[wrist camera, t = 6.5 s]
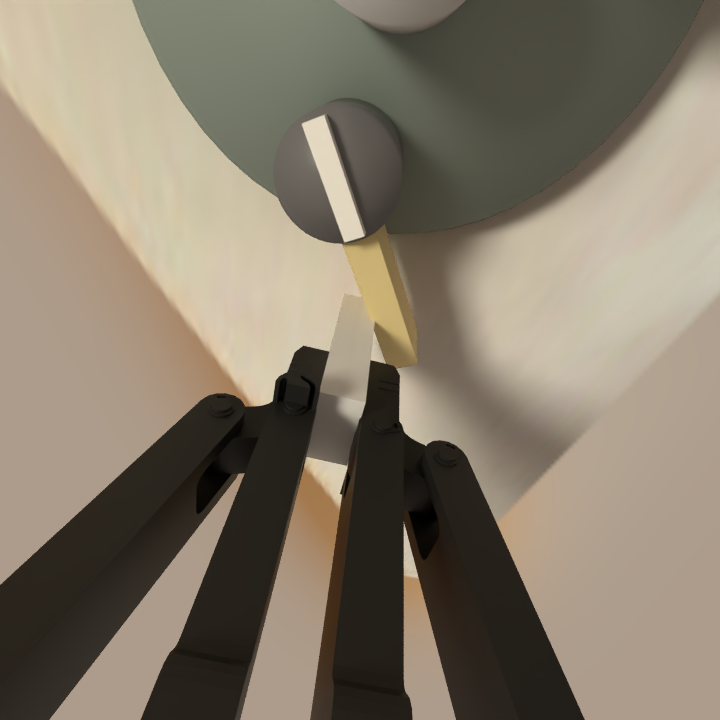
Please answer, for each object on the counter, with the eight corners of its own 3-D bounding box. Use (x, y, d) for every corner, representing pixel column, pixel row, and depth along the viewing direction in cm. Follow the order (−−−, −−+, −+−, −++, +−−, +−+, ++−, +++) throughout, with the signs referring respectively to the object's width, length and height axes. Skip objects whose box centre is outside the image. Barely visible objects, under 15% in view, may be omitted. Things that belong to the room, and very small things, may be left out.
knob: (278, 121, 16) (247, 136, 13) (385, 79, 15) (378, 85, 12) (362, 340, 21) (353, 387, 18) (447, 320, 20) (453, 366, 17)
